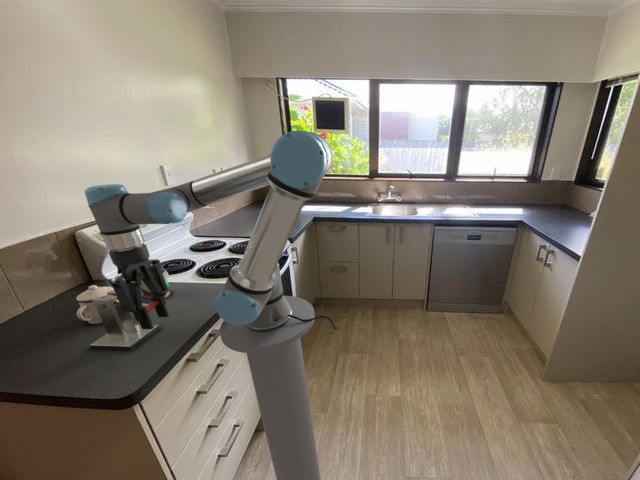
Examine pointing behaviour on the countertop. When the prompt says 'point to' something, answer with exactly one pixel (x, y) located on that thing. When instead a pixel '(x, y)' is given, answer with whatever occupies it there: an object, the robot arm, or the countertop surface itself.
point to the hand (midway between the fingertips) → (155, 322)
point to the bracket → (119, 327)
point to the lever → (147, 306)
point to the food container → (147, 292)
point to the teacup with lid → (91, 303)
